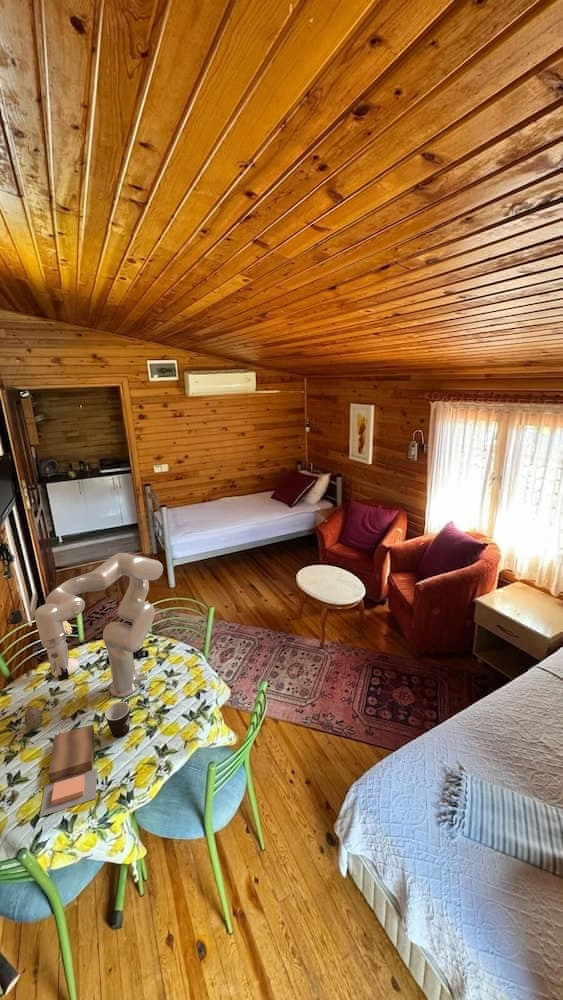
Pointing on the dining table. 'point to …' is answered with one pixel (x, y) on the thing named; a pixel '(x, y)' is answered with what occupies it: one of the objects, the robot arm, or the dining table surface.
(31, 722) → the decorative egg
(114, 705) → the coffee mug
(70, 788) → the salmon orange flat block
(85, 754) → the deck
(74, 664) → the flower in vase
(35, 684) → the dining table surface
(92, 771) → the mat
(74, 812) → the dining table surface
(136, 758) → the dining table surface
